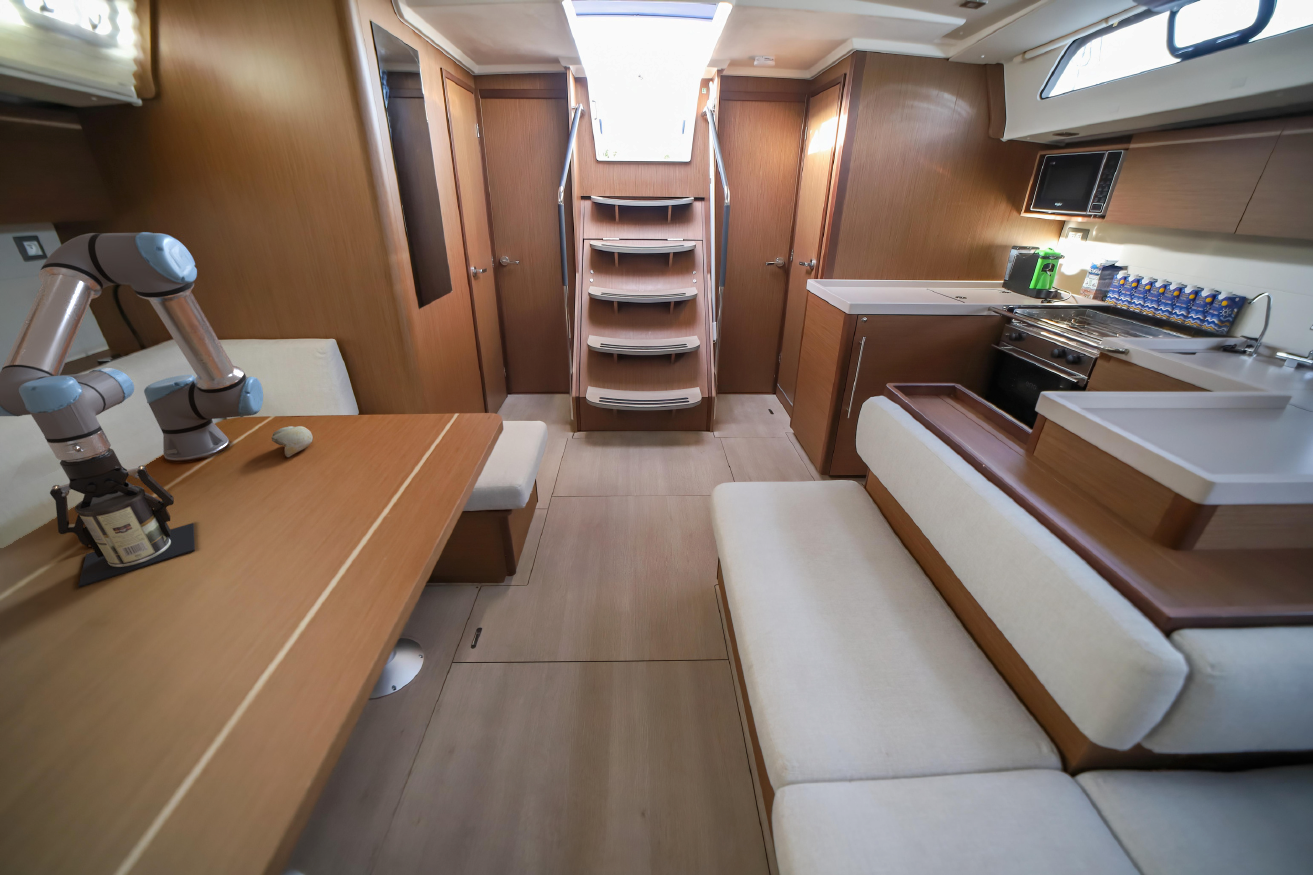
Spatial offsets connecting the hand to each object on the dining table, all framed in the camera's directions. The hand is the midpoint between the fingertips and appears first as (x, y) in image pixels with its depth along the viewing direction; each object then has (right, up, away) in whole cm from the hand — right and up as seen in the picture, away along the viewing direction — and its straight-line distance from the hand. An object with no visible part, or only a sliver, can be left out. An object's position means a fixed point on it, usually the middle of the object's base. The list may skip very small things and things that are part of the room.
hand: (135, 543), depth 109 cm
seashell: (+2, +20, +46) cm, 50 cm away
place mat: (0, -2, +1) cm, 3 cm away
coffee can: (0, -2, +1) cm, 2 cm away
